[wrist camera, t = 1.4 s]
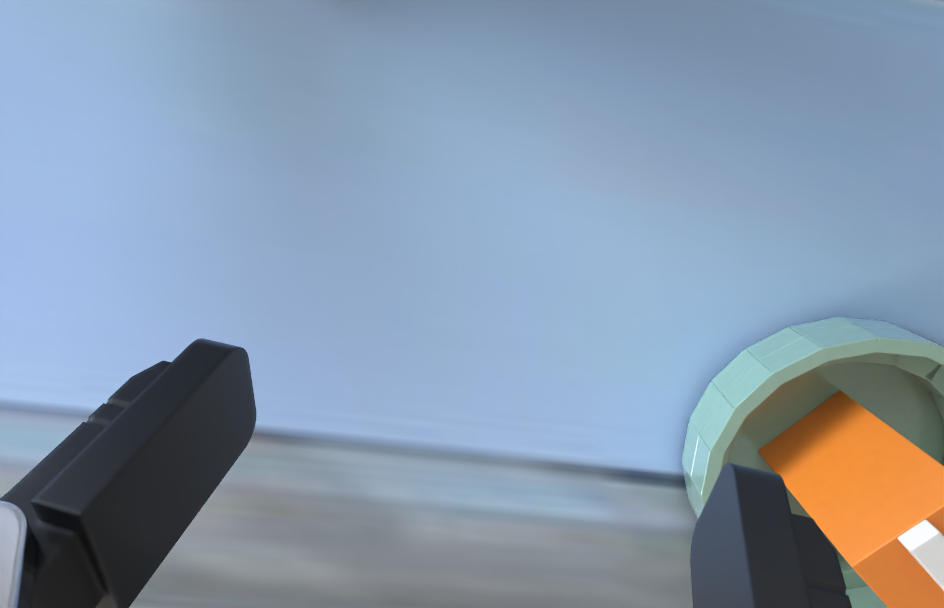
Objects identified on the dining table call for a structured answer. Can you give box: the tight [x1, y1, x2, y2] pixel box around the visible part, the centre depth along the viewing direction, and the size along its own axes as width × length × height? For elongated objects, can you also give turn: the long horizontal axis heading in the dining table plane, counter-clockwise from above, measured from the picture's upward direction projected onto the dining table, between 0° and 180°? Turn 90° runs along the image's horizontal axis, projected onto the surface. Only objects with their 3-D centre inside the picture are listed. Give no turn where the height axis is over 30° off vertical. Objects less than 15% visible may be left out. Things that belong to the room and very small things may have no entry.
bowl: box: [682, 317, 944, 608], centre depth 30 cm, size 14×14×4 cm
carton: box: [758, 391, 944, 608], centre depth 27 cm, size 5×5×10 cm
